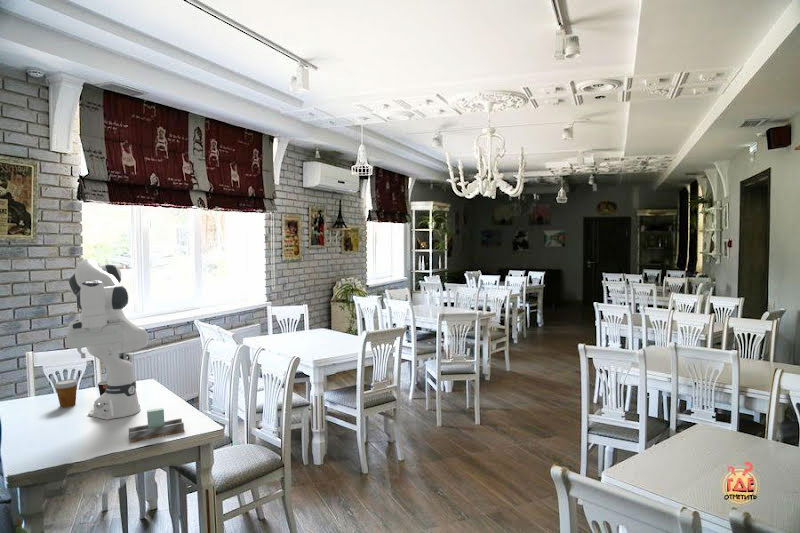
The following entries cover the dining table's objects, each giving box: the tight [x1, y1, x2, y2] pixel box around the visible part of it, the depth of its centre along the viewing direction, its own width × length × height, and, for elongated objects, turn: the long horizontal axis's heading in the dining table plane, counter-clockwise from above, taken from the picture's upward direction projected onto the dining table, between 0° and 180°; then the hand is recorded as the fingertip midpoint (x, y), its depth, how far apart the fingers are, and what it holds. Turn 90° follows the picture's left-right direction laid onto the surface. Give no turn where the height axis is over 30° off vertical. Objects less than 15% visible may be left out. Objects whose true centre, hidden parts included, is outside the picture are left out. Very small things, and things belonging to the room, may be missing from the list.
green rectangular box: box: [146, 407, 165, 429], centre depth 217 cm, size 6×2×9 cm, turn 120°
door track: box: [128, 417, 185, 444], centre depth 217 cm, size 20×9×4 cm, turn 120°
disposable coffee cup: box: [54, 378, 79, 409], centre depth 257 cm, size 10×10×12 cm
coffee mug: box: [97, 379, 108, 397], centre depth 260 cm, size 12×9×10 cm
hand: (97, 356), depth 210 cm, fingers open, 8 cm apart
